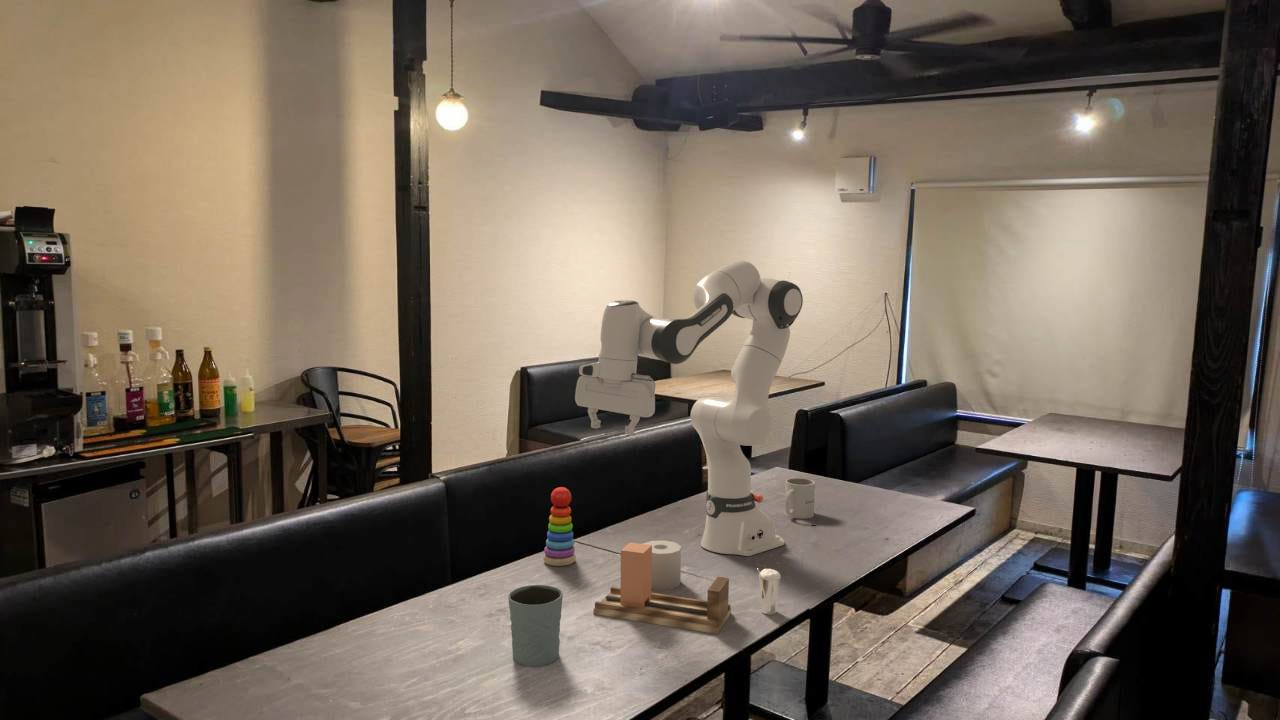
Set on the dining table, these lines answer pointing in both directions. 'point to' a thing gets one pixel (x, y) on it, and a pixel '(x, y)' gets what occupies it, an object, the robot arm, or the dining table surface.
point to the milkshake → (769, 590)
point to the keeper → (636, 575)
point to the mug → (799, 498)
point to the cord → (664, 606)
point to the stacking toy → (560, 530)
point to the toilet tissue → (665, 565)
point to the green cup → (535, 624)
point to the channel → (707, 623)
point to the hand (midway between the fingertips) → (612, 430)
